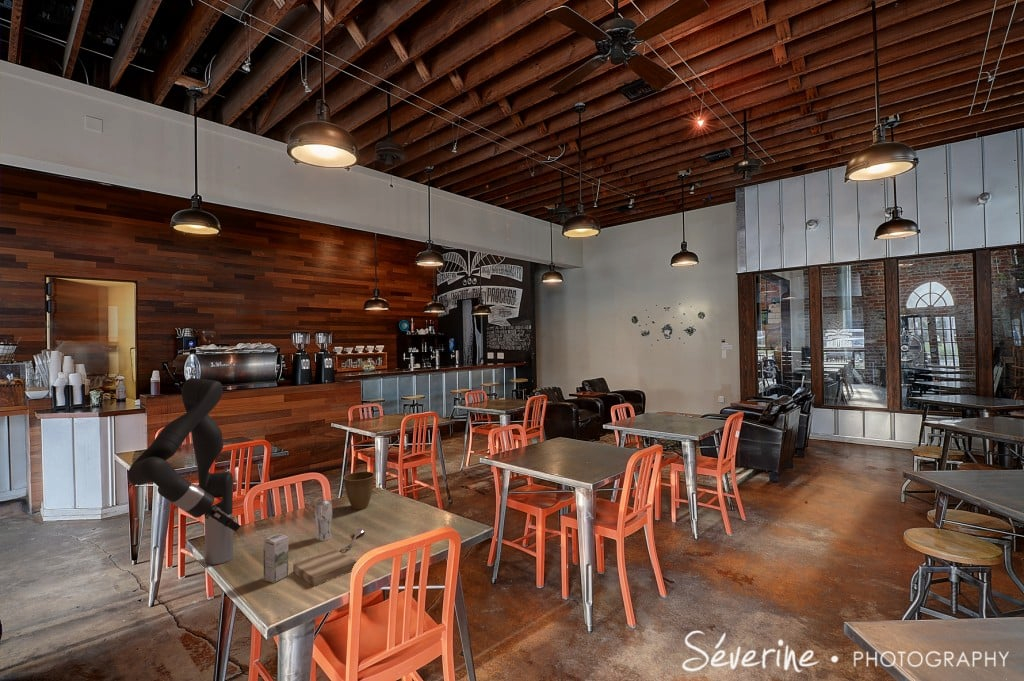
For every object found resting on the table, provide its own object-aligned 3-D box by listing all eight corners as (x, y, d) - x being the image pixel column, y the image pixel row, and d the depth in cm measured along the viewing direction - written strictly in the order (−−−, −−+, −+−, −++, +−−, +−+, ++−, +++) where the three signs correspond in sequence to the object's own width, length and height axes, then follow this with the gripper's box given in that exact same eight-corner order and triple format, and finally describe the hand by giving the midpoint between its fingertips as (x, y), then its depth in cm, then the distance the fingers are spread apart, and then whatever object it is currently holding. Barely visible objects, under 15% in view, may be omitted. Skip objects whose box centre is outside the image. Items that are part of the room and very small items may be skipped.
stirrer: (349, 543, 190) (338, 543, 191) (349, 552, 190) (337, 552, 190) (367, 526, 210) (356, 526, 211) (367, 535, 210) (356, 534, 210)
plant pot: (355, 501, 251) (354, 470, 251) (380, 503, 247) (380, 472, 247) (337, 511, 236) (337, 478, 236) (364, 513, 232) (363, 480, 232)
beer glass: (327, 542, 201) (326, 506, 200) (311, 541, 202) (311, 505, 202) (335, 535, 207) (335, 500, 207) (321, 534, 209) (320, 499, 209)
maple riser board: (293, 571, 175) (293, 563, 175) (334, 556, 187) (334, 548, 187) (314, 586, 164) (314, 577, 164) (356, 569, 176) (356, 561, 176)
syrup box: (277, 573, 174) (277, 532, 174) (288, 576, 172) (288, 535, 172) (263, 580, 169) (262, 538, 169) (274, 583, 166) (274, 541, 166)
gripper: (210, 493, 150) (250, 520, 158) (195, 485, 159) (234, 510, 168) (190, 515, 146) (232, 541, 154) (176, 505, 155) (217, 530, 164)
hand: (233, 525), depth 161 cm, fingers open, 8 cm apart
